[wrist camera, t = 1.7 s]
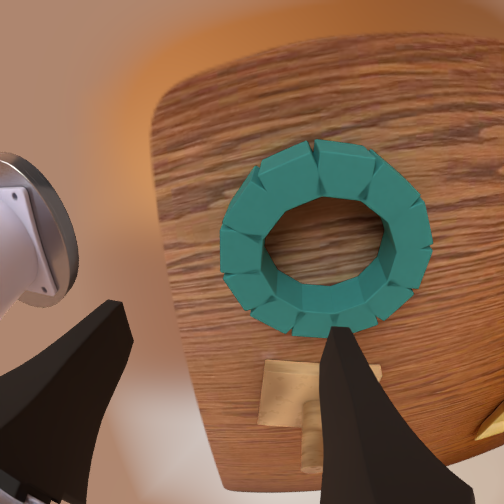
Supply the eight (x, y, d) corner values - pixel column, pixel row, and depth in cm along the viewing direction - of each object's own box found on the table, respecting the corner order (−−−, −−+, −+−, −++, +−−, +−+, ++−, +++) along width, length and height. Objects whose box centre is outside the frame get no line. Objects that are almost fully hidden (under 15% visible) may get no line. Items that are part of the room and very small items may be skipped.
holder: (258, 414, 27) (250, 481, 21) (265, 358, 22) (255, 446, 16) (349, 418, 27) (353, 483, 20) (380, 364, 22) (394, 445, 16)
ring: (228, 302, 20) (221, 329, 18) (229, 132, 14) (219, 142, 12) (387, 314, 19) (395, 340, 17) (434, 159, 13) (456, 174, 11)
